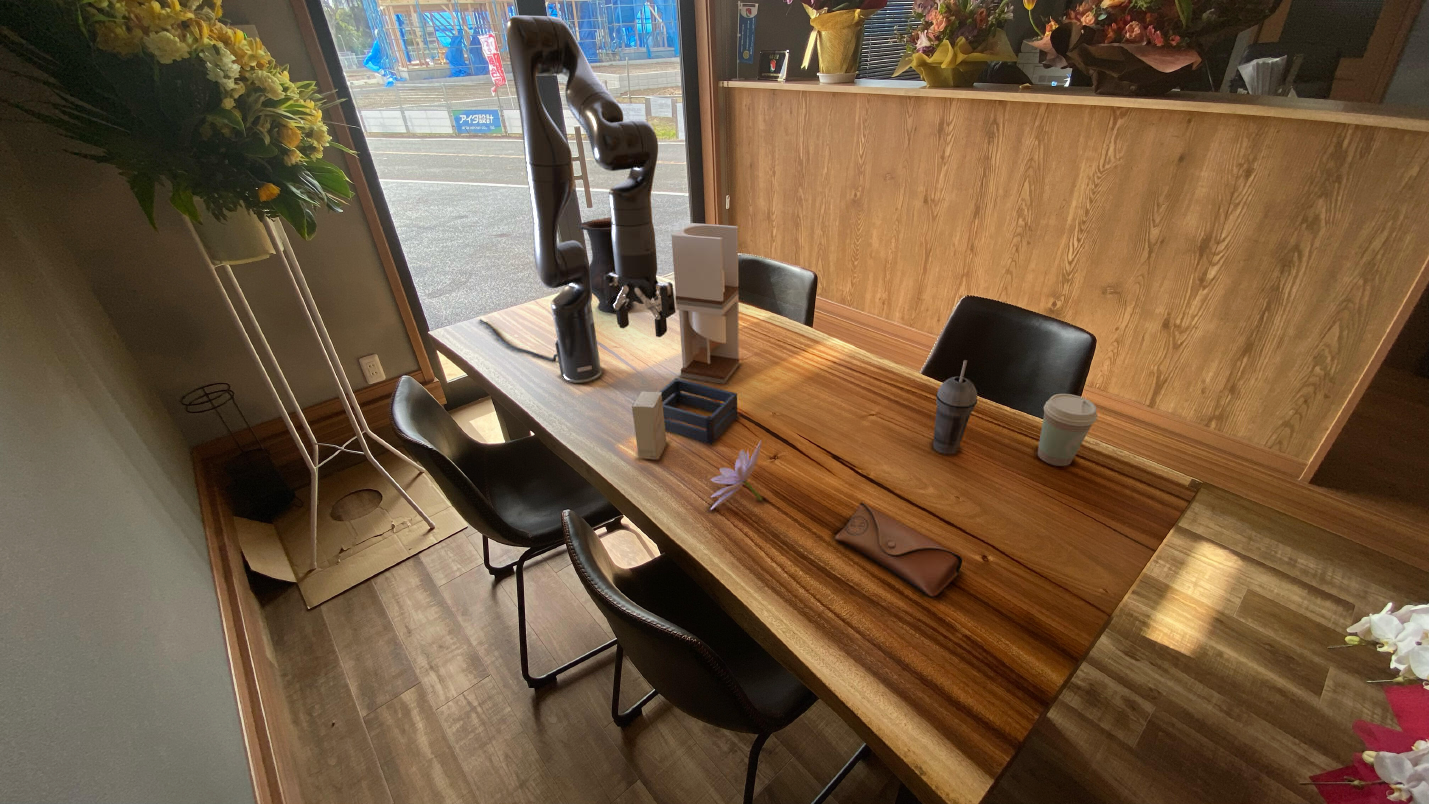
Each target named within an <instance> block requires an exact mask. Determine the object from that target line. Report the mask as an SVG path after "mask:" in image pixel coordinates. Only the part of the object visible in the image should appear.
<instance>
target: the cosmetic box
mask: <svg viewBox="0 0 1429 804" xmlns="http://www.w3.org/2000/svg"><path fill="white" fill-rule="evenodd" d="M631 412H632V418H633V427H634V435H635V441H636V448H637V449H636V450H637V457H638V459H647V460H660V457H662V456H661V455H662V454H663V451H664V450H665V448H666V445H667V433H666V432H667V431H666V430H665V422H664V418H665V417H664V413H663V403H662V394H661V392H659V391H650V390H649V391H648V390H647V391H645V390H641V391H640V392H639V394H638V395H637V396H636V398H635V400H634V402H633V403H632V405H631Z"/></svg>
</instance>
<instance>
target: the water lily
mask: <svg viewBox="0 0 1429 804" xmlns="http://www.w3.org/2000/svg"><path fill="white" fill-rule="evenodd" d="M761 447H762V440H760V441H759V442H758V445H757V446H756V448H755V450H754V451H753V452H752V455H751V457H750V454H749V451H747V452H746V451H745V449H741V450H740V451H739V453H738V455H737V459H736V460H735V462H734V469H732V468H729V467H720V468H719V472H720V474H719V475H716V476H714V477H712V478H710V481H712V482H713V483H715V484H719V485H729V486H725V487H723V488H721V489H719V490H717V491H715V492H714V493H713V494H712V495H711V496H710V498H715V497H719V496H720V497H719V498H718V499H717V500H716V501H715V503H714V504H713V505H712V506H711V507H710V510H709V511H712V510H714V509H715V508H717V507H719V506H721V505H723V504H724V503H726V502H727V501H728V500H730V498H731V497H733V496H734V495H735V494H736V493H737V492H738V491H739V490H740V489H741V488H742V487H743V485H745V486H746V487H747V488H748V489H749V490H750V491H751V492H752V494H753V495H754V496H755V497H756V499H757V500H758V501H759V502H761V501H763V497H762V496H761V495H760V493H759V492H757V490H756V489H755V488H754V487H753V486H752V485H751V484H750V483H749V482H748V481H747V480H749V478H750V477H751V475H752V474H753V472H754V469H755V467H756V464H757V463H758V460H759V457H760V453H761Z"/></svg>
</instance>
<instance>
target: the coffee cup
mask: <svg viewBox="0 0 1429 804" xmlns="http://www.w3.org/2000/svg"><path fill="white" fill-rule="evenodd" d="M1043 411H1044V412H1043V419H1042V425H1041V429H1040V430H1041V431H1040V436H1039V442H1038V447H1037V448H1038V449H1037V456H1038V457H1039V459H1040V460H1042V461H1043V462H1045V463H1047V464H1049V465H1052V466H1058V467H1065V466H1069V465H1071V463H1072V462H1073V461H1074V458H1075V457H1076V455H1077V453H1078V451H1079V450H1080V448H1081V445H1082V444H1083V442H1084V440H1085V439H1086V437H1087V435H1088V433H1089V431H1090V430H1091V428H1092V426H1093V424H1095V423H1096V422H1097V419H1098V413H1097V406H1096V405H1095V403H1093V402H1092V401H1090V400H1089V399H1087V398H1085V397H1082V396H1080V395H1075V394H1070V393H1058V394H1057V393H1056V394H1054V395H1052V396H1051V397H1050V398H1049V399H1048V400H1047V401H1046V402H1045V404H1044V405H1043Z"/></svg>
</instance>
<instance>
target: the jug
mask: <svg viewBox="0 0 1429 804" xmlns="http://www.w3.org/2000/svg"><path fill="white" fill-rule="evenodd" d="M577 227H578V229H580V230H583V231H586V233H587V236H588V238H589V241H590V249H591V254H592V255H591V256H592V257H591V258H592V259H591V261H590V263H589V268H590V279H591V289H592V296H594V297H595V298H596V299H597V301H598V304H597V309H598V310H599V311H601V312H603V313H608V314H609V313H610V314H611V313H612V314H616V310H615V309H614V307H613V306H612V305H607V304H606V300H605V286H604V276H605V275H607V274H609V273H611V272H616V271H615V262H614V254H613V245H612V222H611V216H610V217H603V218H595V219H591V220H588V221H582V222H580V223H579V224H578V225H577ZM621 291H622V290H621V288H620V287H619V285H618V296H619V294H620V292H621ZM633 306H634V302H630V301H628V303H627V304H626V306H625V307H627V309H628V311H629V310H631V309H632V308H633Z"/></svg>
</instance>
